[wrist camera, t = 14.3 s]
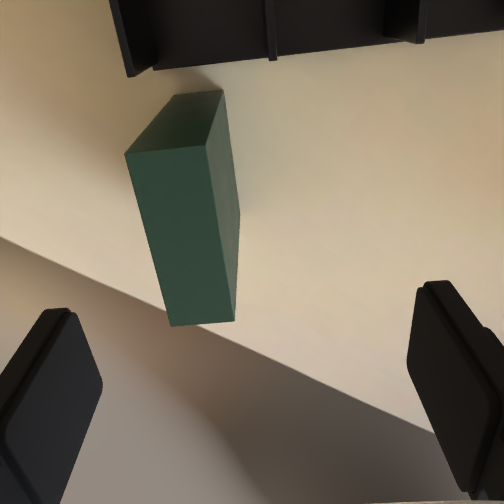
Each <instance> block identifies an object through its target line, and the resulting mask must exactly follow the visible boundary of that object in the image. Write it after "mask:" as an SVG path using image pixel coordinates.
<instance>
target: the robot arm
mask: <svg viewBox="0 0 504 504" xmlns="http://www.w3.org/2000/svg"><path fill="white" fill-rule="evenodd" d="M407 369H408V372H409V375H410V377H411V379H412V382H413V384H414V386H415V389H416V391H417V393H418V395H419V398H420V400H421V402H422V405H423V407H424V409H425V411H426V414H427V416H428V418H429V421H430V423H431V425H432V428H433V430H434V432H435V434H436V437H437V439H438V441H439V444H440V446H441V448H442V450H443V452H444V455H445V457H446V460H447V462H448V464H449V466H450V469H451V471H452V473H453V476H454V478H455V480H456V483H457V485H458V487H459V488H460V490H461V491H462V492H468V494H469V496H470V498H471V500H466V501H430V502H399V503H380V504H504V346H503V345H502V343H501V342H500V341H499V339H498V338H497V337H496V335H495V334H494V333H493V332H492V331H491V330H490V329H489V328H487V327H483V326H482V324H481V323H480V322H479V320H478V319H477V318H476V316H475V315H474V314H473V312H472V311H471V309H470V308H469V307H468V305H467V304H466V303H465V301H464V300H463V298H462V297H461V296H460V294H459V293H458V292H457V290H456V289H455V287H454V286H453V285H452V283H451V282H450V281H448V280H442V281H428V282H425V283H424V285H423V287H420V288H418V289H417V293H416V299H415V306H414V313H413V320H412V326H411V333H410V340H409V347H408V353H407ZM102 388H103V383H102V378H101V376H100V373H99V370H98V368H97V365H96V363H95V360H94V358H93V355H92V352H91V350H90V347H89V344H88V342H87V339H86V337H85V334H84V331H83V329H82V326H81V324H80V321H79V318H78V316H77V314H76V313H74V312H72V313H71V311H70V310H69V309H68V308H55V309H46V310H44V311H43V312H42V313H41V315H40V317H39V318H38V320H37V321H36V323H35V324H34V325H33V327H32V328H31V330H30V331H29V333H28V334H27V336H26V337H25V339H24V340H23V342H22V343H21V345H20V346H19V348H18V349H17V351H16V352H15V354H14V355H13V357H12V358H11V360H10V361H9V363H8V364H7V366H6V367H5V369H4V370H3V372H2V373H1V375H0V504H60V501H61V499H62V496H63V493H64V491H65V488H66V486H67V483H68V480H69V478H70V475H71V472H72V470H73V467H74V464H75V462H76V459H77V457H78V454H79V451H80V448H81V446H82V443H83V441H84V438H85V435H86V433H87V430H88V427H89V425H90V422H91V419H92V417H93V414H94V412H95V409H96V406H97V404H98V401H99V398H100V396H101V393H102ZM378 504H379V503H378Z"/></svg>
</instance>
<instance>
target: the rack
mask: <svg viewBox="0 0 504 504" xmlns="http://www.w3.org/2000/svg"><path fill="white" fill-rule="evenodd" d="M109 3H110V7H111V11H112V16H113V20H114V24H115V28H116V32H117V36H118V40H119V45H120V49H121V53H122V57H123V61H124V65H125V69H126V74H127V77H128V78H130V77H135V76H137V75H139V74H140V73H142V72H144V71H145V70H147V69H148V68H150V67H152V68H153V70H154V71H156V70H165V69H174V68H182V67H191V66H199V65H208V64H216V63H225V62H234V61H242V60H251V59H259V58H268V59H269V61H276V60H277V56H285V55H294V54H302V53H311V52H320V51H328V50H337V49H345V48H354V47H363V46H371V45H380V44H388V43H397V42H409V43H414V44H423V43H424V42H425V39H431V38H440V37H448V36H457V35H466V34H474V33H483V32H491V31H500V30H504V0H109Z"/></svg>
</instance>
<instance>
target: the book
mask: <svg viewBox="0 0 504 504" xmlns="http://www.w3.org/2000/svg"><path fill="white" fill-rule="evenodd" d="M124 155H125V158H126V162H127V166H128V169H129V173H130V177H131V181H132V184H133V188H134V192H135V195H136V199H137V203H138V207H139V210H140V214H141V218H142V221H143V225H144V229H145V233H146V236H147V240H148V244H149V247H150V251H151V255H152V259H153V262H154V266H155V270H156V273H157V277H158V281H159V285H160V288H161V292H162V296H163V299H164V303H165V307H166V311H167V314H168V318H169V322H170V325H171V327H173V326H184V325H197V324H209V323H221V322H233V321H235V308H236V288H237V268H238V248H239V229H240V209H239V202H238V194H237V187H236V179H235V172H234V164H233V157H232V149H231V142H230V134H229V127H228V119H227V112H226V104H225V97H224V90H215V91H206V92H197V93H189V94H180V95H174V96H173V97H172V98H171V99H170V100H169V102H168V103H167V104H166V105H165V106H164V107H163V109H162V110H161V111H160V112H159V113H158V114H157V116H156V117H155V118H154V119H153V120H152V122H151V123H150V124H149V125H148V126H147V127H146V129H145V130H144V131H143V132H142V133H141V134H140V136H139V137H138V138H137V139H136V140H135V141H134V143H133V144H132V145H131V146H130V147H129V149H128V150H127V151H126V152H125V153H124Z"/></svg>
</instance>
